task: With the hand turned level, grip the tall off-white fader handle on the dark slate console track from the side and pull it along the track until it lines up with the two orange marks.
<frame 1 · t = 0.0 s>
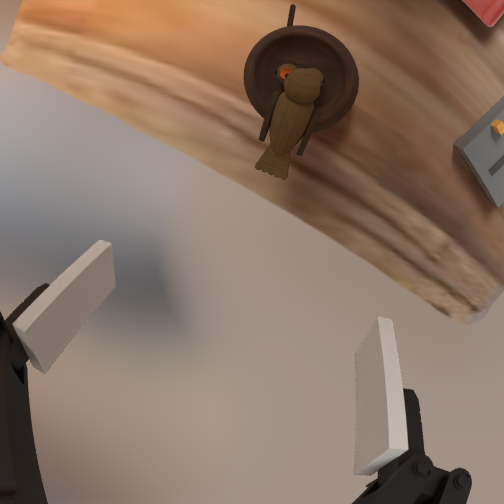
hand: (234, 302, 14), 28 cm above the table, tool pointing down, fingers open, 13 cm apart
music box: (306, 79, 33), on the table
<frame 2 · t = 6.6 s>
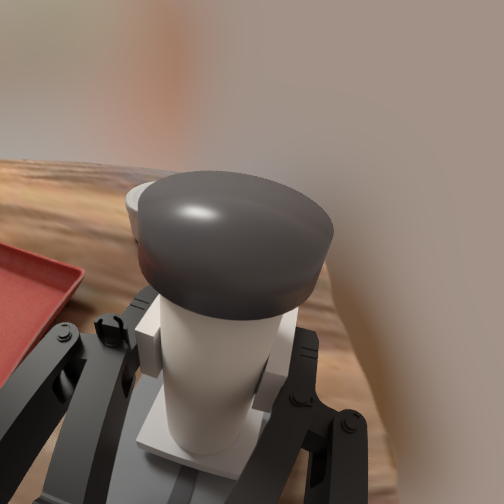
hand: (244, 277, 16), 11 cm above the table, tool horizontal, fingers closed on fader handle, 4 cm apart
ramekin: (170, 236, 39), on the table
fader handle: (212, 364, 12), point 10 cm above the table, slide at 0.0 cm, touching gripper
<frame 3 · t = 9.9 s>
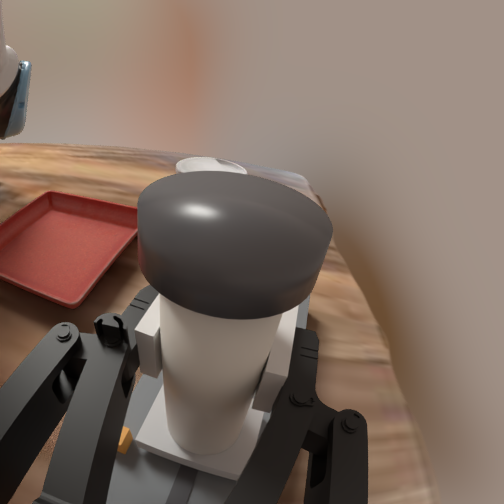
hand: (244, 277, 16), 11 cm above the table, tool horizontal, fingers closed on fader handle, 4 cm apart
ramekin: (208, 198, 51), on the table
fader handle: (212, 363, 12), point 10 cm above the table, slide at 13.4 cm, touching gripper
fader console: (218, 400, 21), on the table
plant saucer: (60, 256, 32), on the table
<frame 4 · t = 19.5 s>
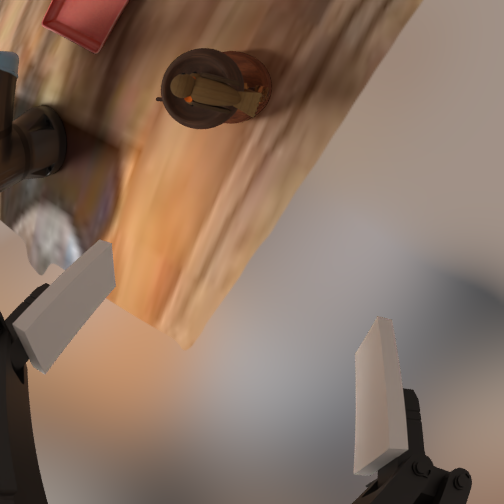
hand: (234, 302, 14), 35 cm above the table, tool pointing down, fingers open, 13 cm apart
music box: (230, 86, 41), on the table
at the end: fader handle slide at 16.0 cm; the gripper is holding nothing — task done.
